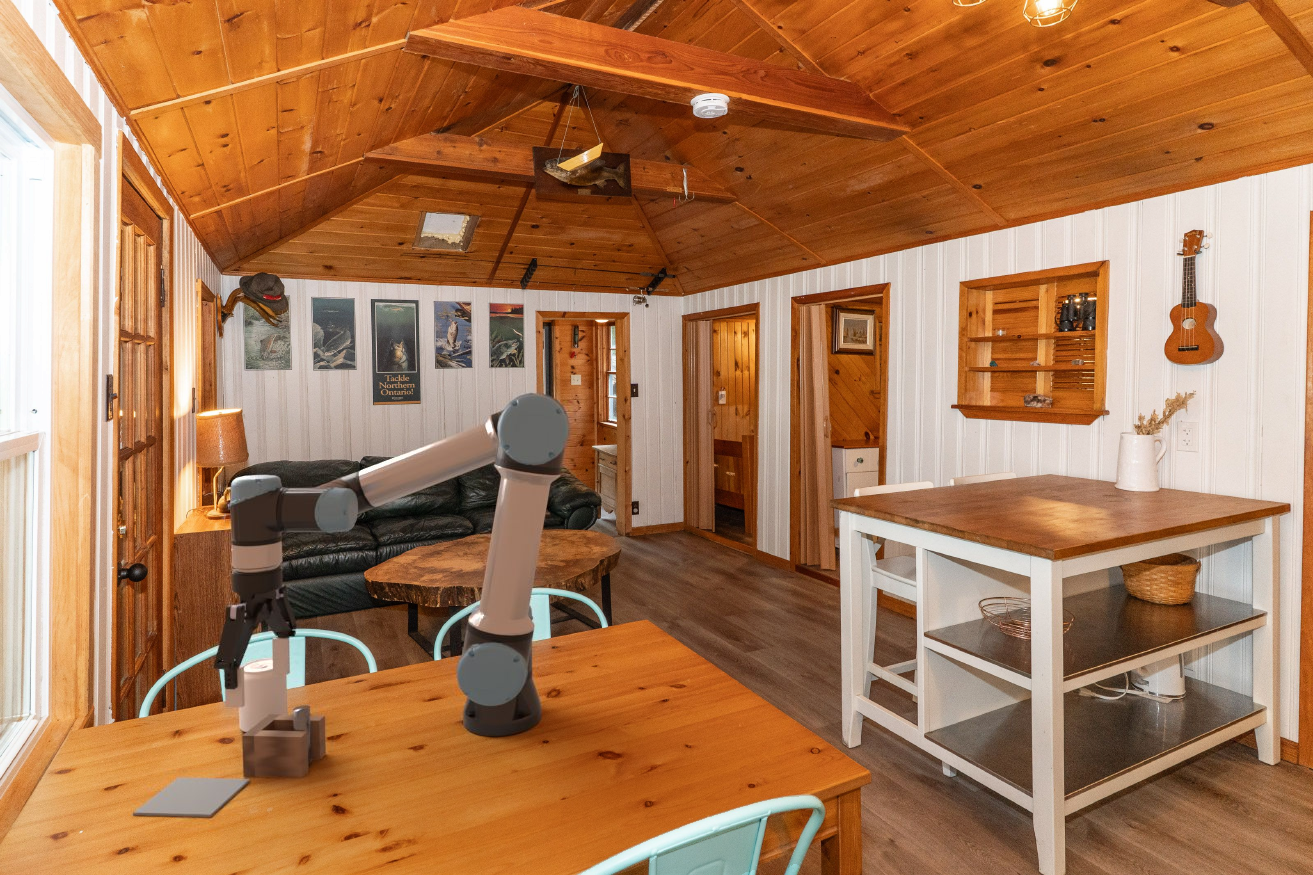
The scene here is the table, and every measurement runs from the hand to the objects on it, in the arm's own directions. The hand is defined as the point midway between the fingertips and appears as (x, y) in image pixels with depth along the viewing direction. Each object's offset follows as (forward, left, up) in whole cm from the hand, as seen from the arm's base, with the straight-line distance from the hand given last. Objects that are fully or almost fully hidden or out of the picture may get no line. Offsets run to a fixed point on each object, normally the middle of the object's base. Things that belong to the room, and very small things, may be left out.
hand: (259, 689), depth 124 cm
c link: (-4, 0, -13) cm, 14 cm away
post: (-7, 0, -13) cm, 15 cm away
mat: (+5, +10, -13) cm, 18 cm away
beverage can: (+8, -14, -14) cm, 21 cm away
